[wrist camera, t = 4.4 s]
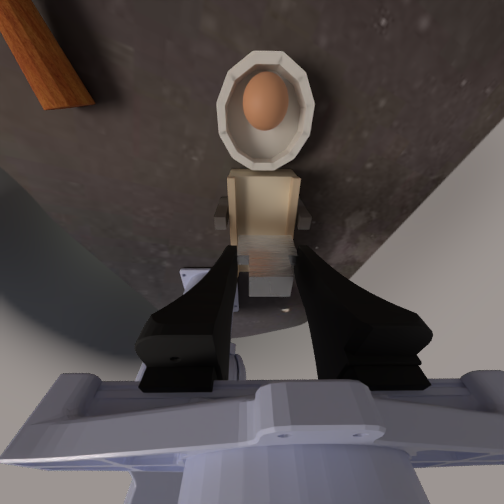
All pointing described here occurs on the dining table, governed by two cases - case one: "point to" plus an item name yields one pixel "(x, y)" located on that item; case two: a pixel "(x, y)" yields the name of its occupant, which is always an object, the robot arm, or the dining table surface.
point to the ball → (265, 101)
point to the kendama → (41, 57)
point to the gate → (268, 263)
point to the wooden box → (261, 205)
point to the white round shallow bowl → (279, 138)
